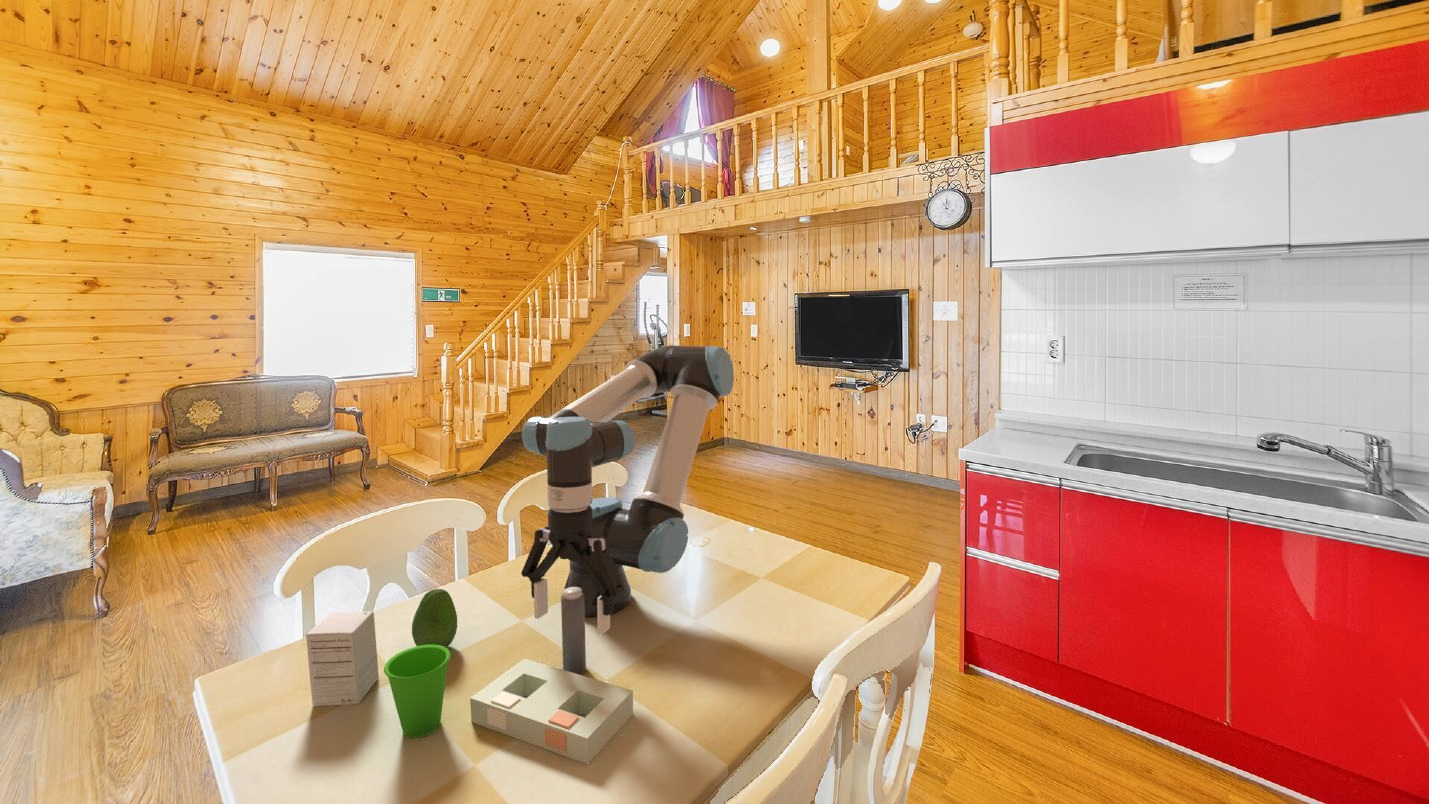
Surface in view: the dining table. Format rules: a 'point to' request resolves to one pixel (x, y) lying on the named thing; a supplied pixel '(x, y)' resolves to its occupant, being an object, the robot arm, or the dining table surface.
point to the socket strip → (553, 709)
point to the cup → (418, 687)
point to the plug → (573, 630)
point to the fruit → (435, 619)
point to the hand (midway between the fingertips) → (571, 623)
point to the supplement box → (342, 658)
